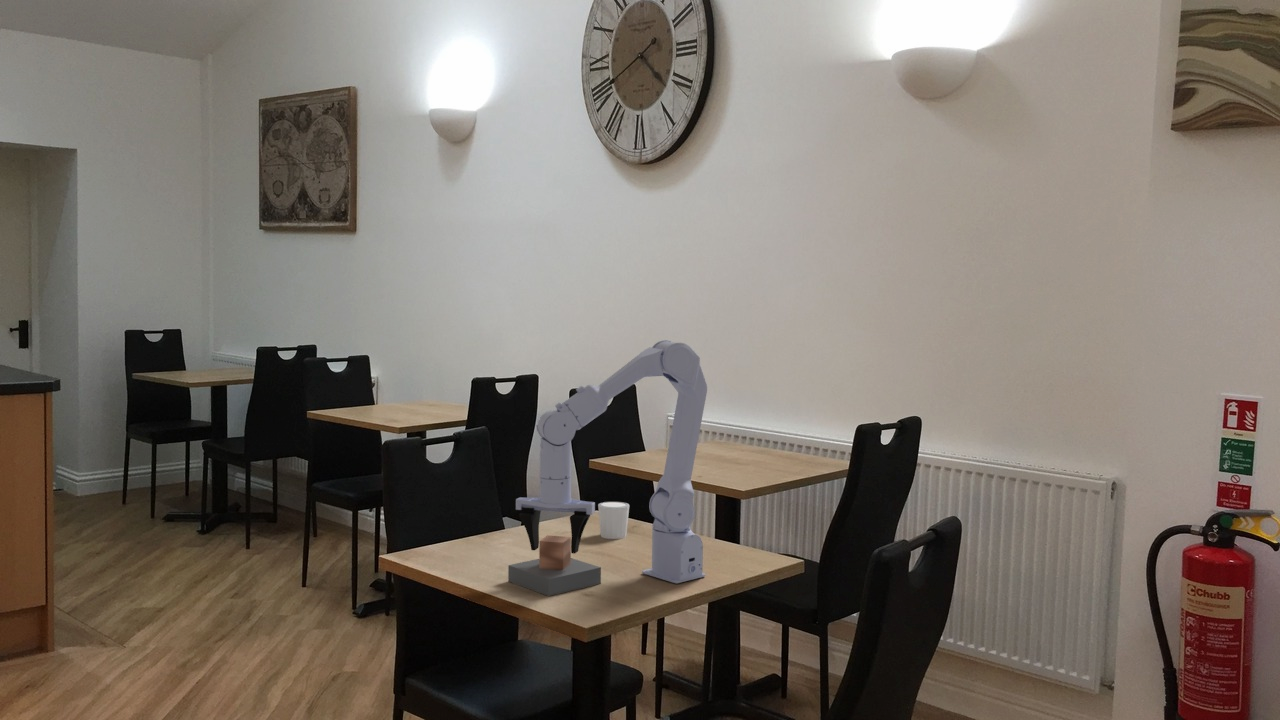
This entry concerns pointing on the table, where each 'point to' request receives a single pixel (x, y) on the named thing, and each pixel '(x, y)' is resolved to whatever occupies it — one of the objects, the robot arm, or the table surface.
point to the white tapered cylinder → (613, 519)
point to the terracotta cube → (555, 552)
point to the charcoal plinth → (554, 576)
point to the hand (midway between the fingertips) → (554, 550)
